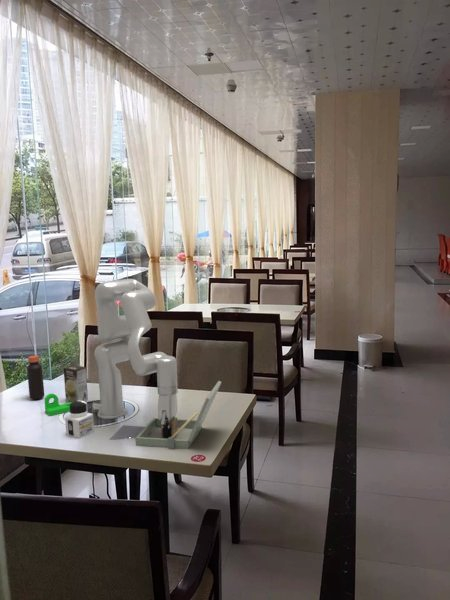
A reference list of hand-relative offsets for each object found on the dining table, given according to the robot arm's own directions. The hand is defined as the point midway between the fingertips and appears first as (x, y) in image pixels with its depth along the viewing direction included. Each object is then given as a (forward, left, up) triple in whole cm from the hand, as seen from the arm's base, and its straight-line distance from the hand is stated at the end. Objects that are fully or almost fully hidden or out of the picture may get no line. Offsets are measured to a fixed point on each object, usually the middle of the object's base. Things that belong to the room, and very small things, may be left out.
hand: (169, 433), depth 202 cm
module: (0, 0, -1) cm, 1 cm away
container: (-36, -2, -2) cm, 37 cm away
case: (0, 0, -1) cm, 1 cm away
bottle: (-79, +37, -2) cm, 87 cm away
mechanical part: (-58, +21, -2) cm, 61 cm away
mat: (-17, +1, -1) cm, 17 cm away
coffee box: (-57, +35, -2) cm, 67 cm away
